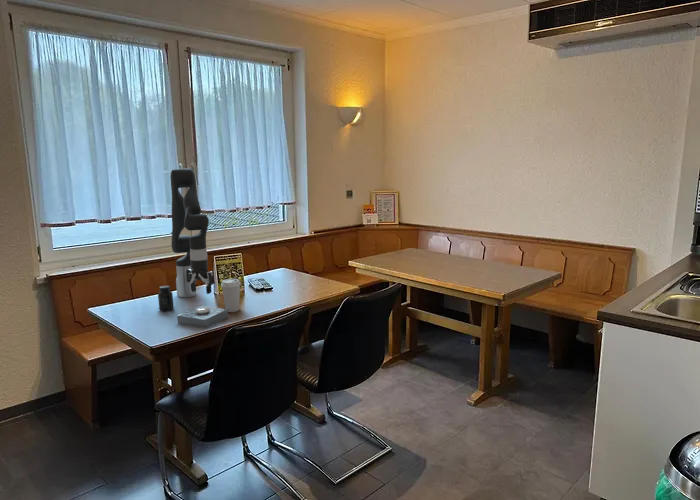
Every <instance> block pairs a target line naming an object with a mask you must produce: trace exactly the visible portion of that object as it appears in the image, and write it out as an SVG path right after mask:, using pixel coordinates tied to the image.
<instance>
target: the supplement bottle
mask: <svg viewBox="0 0 700 500" xmlns="http://www.w3.org/2000/svg"><path fill="white" fill-rule="evenodd" d="M157 301H158V309H159V311H160V312H163V313H164V312H171V311H173V310H174V307H175V306H174V298H173V292H172V291H171V287H170V285H160V286H159V292H158V294H157Z"/></svg>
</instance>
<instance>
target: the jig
mask: <svg viewBox="0 0 700 500" xmlns="http://www.w3.org/2000/svg"><path fill="white" fill-rule="evenodd" d="M200 307H209V310H210V312H209V313H207V314H196V309H197V308H200ZM176 317H177V320H176V321H177V324H178V325H185V326H189V325H190V326H189V327H195V326H196V328H201V327H202V328H203V329H208V328H209V327H211V326H213V325H216V324H218V323H220V322H221V321H224V320H226V319H228V318H229V312H228V309H225V308H221V307H215V306H207V305H198V306H196V307H194V308H191V309H189V310H187V311H184V312H182V313H180V314H177V315H176ZM202 328H201V329H202Z"/></svg>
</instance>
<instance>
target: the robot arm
mask: <svg viewBox="0 0 700 500" xmlns="http://www.w3.org/2000/svg"><path fill="white" fill-rule="evenodd" d="M169 175H170V187H171V188H170V189H171V190H170V191H171V224H172V225H171V227H172V228H171V230H172V232H171V250H172V252H173V253H174V254H184V253H186V254H185V255H183V256H181V257H180V258H178V259H176V260H175V268H176V279H175V285H176V286H175V288H176V296H177V297H180V298H192V297H194V296H197V283H196V282H197V281H202V282H203V283H204V284H205V285H206V286H205V291H206V294H207V295H210V294H212V286H213V285H215V283H216V281H215V273H214V271H213V270H212V271H209V270H208V268H209V261H208V260H209V259H208V251H207V240H206V238H207V232H208V228H209V222H210V220H209V217H208V216H207V214H204V213H201V212H202V208H201V205H200V202H199V198H198V188H197V187H198V186H197V181H196V175H195V172H194V170H193V169H192V168H185V167H184V168H173V169H171V171H170V174H169ZM181 188H182V189H184V188H189V189H188V190H187V191H186V193H185V195H184V196H183V195H182V194H181V192H180V190H179V189H181ZM184 229H186V230H187V231H199V232H198V233H196V234H193V235H190V234H187V235H181V233H182V231H183V230H184Z"/></svg>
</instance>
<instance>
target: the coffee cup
mask: <svg viewBox="0 0 700 500" xmlns="http://www.w3.org/2000/svg"><path fill="white" fill-rule="evenodd" d="M241 285H242V283H241V282H240V279H238V278H227V279H223V280H222V282H221V284H220V286H221V290H222V295H223V302H224V307H225V308H224V309H228V313H236V312H238V311H239V310H240V294H241Z"/></svg>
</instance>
